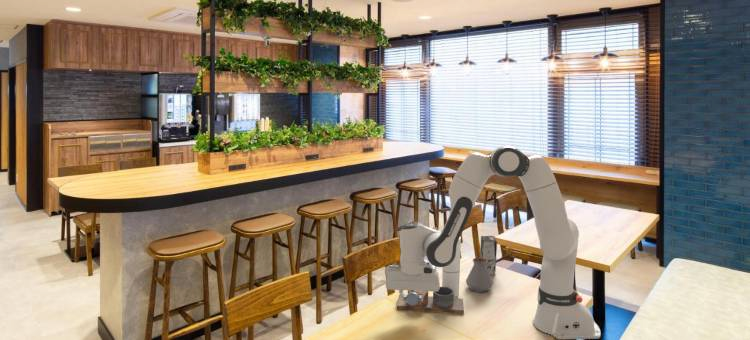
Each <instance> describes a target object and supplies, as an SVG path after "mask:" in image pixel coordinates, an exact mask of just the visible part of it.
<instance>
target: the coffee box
mask: <svg viewBox="0 0 750 340" xmlns="http://www.w3.org/2000/svg"><path fill="white" fill-rule="evenodd" d="M497 250H498V241H497V239H496V238H495V236H494V235H480V250H479V252H480V253H479V254H480V255H479V258H484V259H487V260H488V262H487V264H486V265H488V264H490V263H492V262H494V261H496V260H497V252H498V251H497ZM487 269H488V271H489V274H490V276H491V275H492V276H495V275H496V272H497V271H496V269H497V263H495V264H493V265H491V266H489V267H487Z"/></svg>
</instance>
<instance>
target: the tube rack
mask: <svg viewBox="0 0 750 340" xmlns="http://www.w3.org/2000/svg"><path fill="white" fill-rule="evenodd" d="M410 292H414V291H411V290H407V294H408V293H410ZM407 294H405V295H406V296H407ZM417 294H418V296H419V295H422V294H423V293H417ZM396 310H402V311H403V310H407V311H418V312H431V313H444V314H445V313H446V314H447V313H448V314H457V315H458V314H459V315H460V314H461V315H464V314H465V307H464V298H458V297H454V290H452V289H450V288H448V287H442V286H440V289H439V290H438V291H437V292H436V291H432V296H430V295H429V291H426V294H425V296H424V297H423V302H420V301H419V302H418V304H417V305H415V306H411V305H409V304H408V303H407V301H402V296H401V295H400V293H399V295H398V299H397V303H396Z"/></svg>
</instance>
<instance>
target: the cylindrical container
mask: <svg viewBox="0 0 750 340" xmlns="http://www.w3.org/2000/svg"><path fill="white" fill-rule="evenodd" d="M461 238H462V237H461V236H460V238H459V240H458V242H457V247H456V256H455V259H454V260H453V262H452V263H451V264H449V265H448V266H445V267H442V274H441V275H442V276H441V277H442V279H441V280H442V282H441V287H448V288H450V289H452V290H454V298H458V297H459V295H460V275H461V274H460V273H461V272H460V271H461V247H462V244H461V241H462V239H461Z"/></svg>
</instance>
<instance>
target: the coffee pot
mask: <svg viewBox="0 0 750 340" xmlns="http://www.w3.org/2000/svg"><path fill="white" fill-rule="evenodd" d="M511 256H512V257H515V254H514V253H513V252H511V253H509V254H506V255H504V256H501V257H500V258H498V259H496V261H494V262H492V263H490V264H488V265H486V264H487V262H488V260H487V259H484V258H480V257H475V258H473V259H472V262H473V266H472V268H471V270H470V271H469V273H468V276H467V278H466V279H465V283H466V285H467V287H468V288H469V289H470V290H471V291H474V292H476V293H484V292H488V291H489V290H490V289H491V288H492V287H493V285H494V282H493V278H492V277H491V275H490V274H489V271H488V269H487V267H489V266H491V265H493V264H495V263H496V264H497V263H499V262H501V261H504V260H505V259H507V258H510V257H511Z"/></svg>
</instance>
